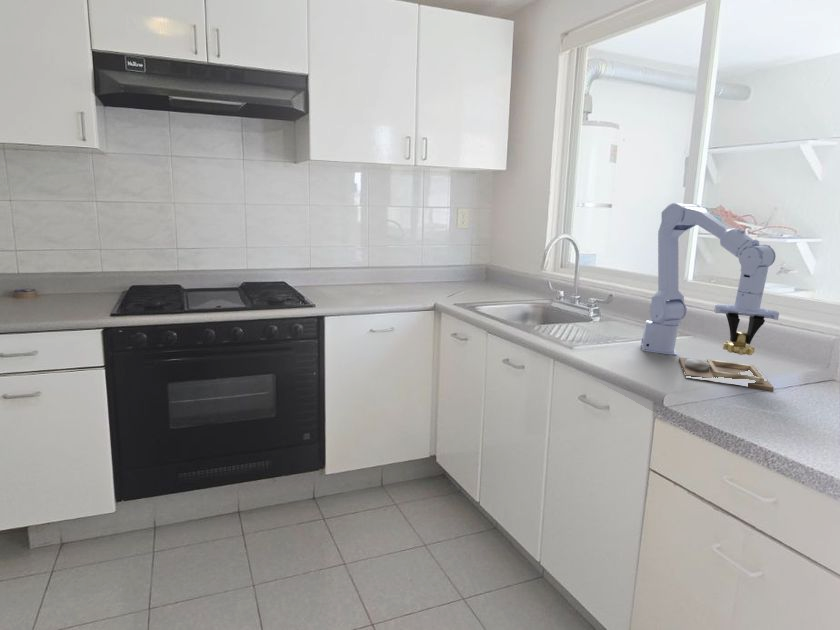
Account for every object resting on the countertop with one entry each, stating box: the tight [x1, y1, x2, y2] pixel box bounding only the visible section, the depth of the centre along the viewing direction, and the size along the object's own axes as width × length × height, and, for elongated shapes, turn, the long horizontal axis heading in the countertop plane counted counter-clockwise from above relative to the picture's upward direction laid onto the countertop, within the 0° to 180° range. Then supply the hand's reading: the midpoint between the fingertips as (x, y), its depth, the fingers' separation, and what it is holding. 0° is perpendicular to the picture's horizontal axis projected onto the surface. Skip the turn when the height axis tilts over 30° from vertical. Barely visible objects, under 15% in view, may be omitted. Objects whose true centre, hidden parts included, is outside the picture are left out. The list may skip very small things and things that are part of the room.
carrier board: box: [678, 356, 774, 392], centre depth 148 cm, size 20×16×2 cm
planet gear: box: [722, 330, 756, 356], centre depth 145 cm, size 7×7×5 cm
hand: (739, 342), depth 145 cm, fingers closed on planet gear, 3 cm apart
